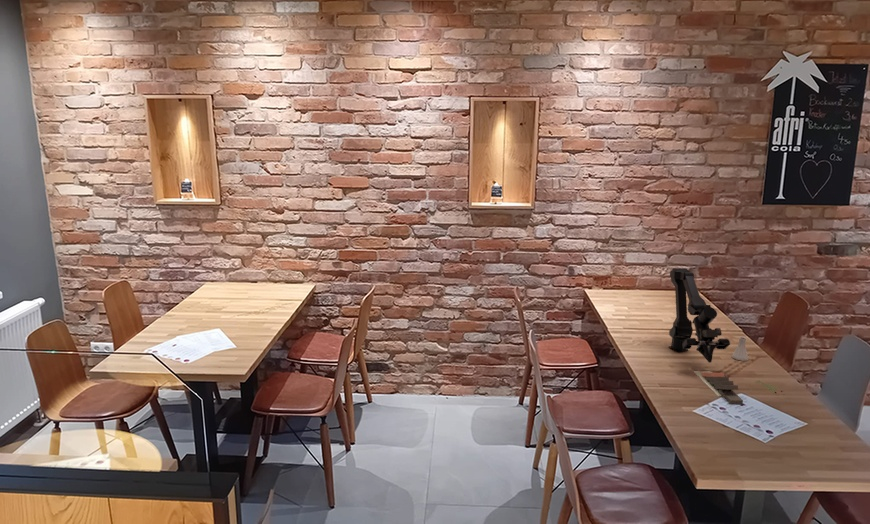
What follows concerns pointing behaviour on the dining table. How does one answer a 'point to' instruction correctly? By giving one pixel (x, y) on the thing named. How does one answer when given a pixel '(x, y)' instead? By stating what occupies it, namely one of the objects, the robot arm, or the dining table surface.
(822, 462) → the dining table surface
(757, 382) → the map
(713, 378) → the domino
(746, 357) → the flask
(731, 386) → the domino
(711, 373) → the domino
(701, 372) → the strip
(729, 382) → the domino
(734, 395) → the domino
